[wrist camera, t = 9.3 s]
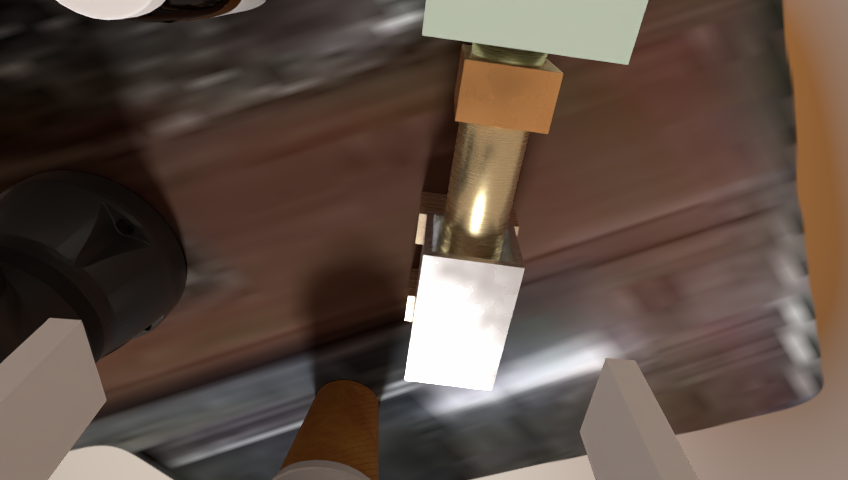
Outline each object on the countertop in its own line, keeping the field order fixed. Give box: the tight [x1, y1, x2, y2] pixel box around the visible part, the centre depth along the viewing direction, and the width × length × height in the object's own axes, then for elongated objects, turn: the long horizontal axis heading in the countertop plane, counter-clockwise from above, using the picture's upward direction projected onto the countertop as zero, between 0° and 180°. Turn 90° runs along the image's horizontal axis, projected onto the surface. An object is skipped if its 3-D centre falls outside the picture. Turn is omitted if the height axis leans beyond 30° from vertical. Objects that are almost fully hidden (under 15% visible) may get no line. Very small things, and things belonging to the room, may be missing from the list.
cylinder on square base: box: [438, 43, 563, 261], centre depth 29 cm, size 5×20×6 cm, turn 173°
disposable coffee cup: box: [272, 380, 379, 480], centre depth 44 cm, size 10×10×12 cm
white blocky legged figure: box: [405, 191, 525, 391], centre depth 35 cm, size 7×10×10 cm
